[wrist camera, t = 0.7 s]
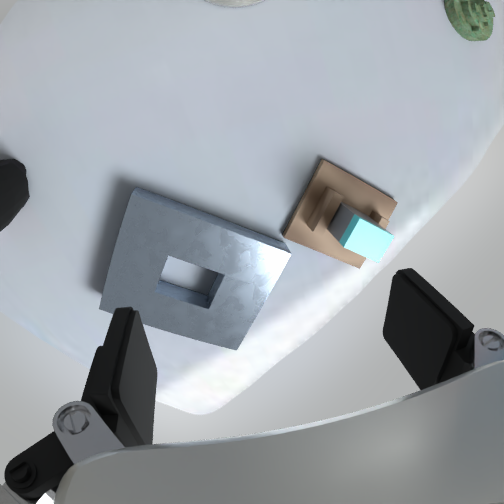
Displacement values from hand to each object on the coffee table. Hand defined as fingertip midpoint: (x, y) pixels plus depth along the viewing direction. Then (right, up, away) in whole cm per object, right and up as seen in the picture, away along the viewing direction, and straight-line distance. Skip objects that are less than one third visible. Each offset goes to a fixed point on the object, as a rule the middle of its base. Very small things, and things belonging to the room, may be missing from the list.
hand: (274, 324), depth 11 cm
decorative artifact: (+35, +42, +22) cm, 59 cm away
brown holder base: (+12, +8, +35) cm, 38 cm away
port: (-10, 0, +35) cm, 36 cm away
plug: (+12, +7, +34) cm, 37 cm away
